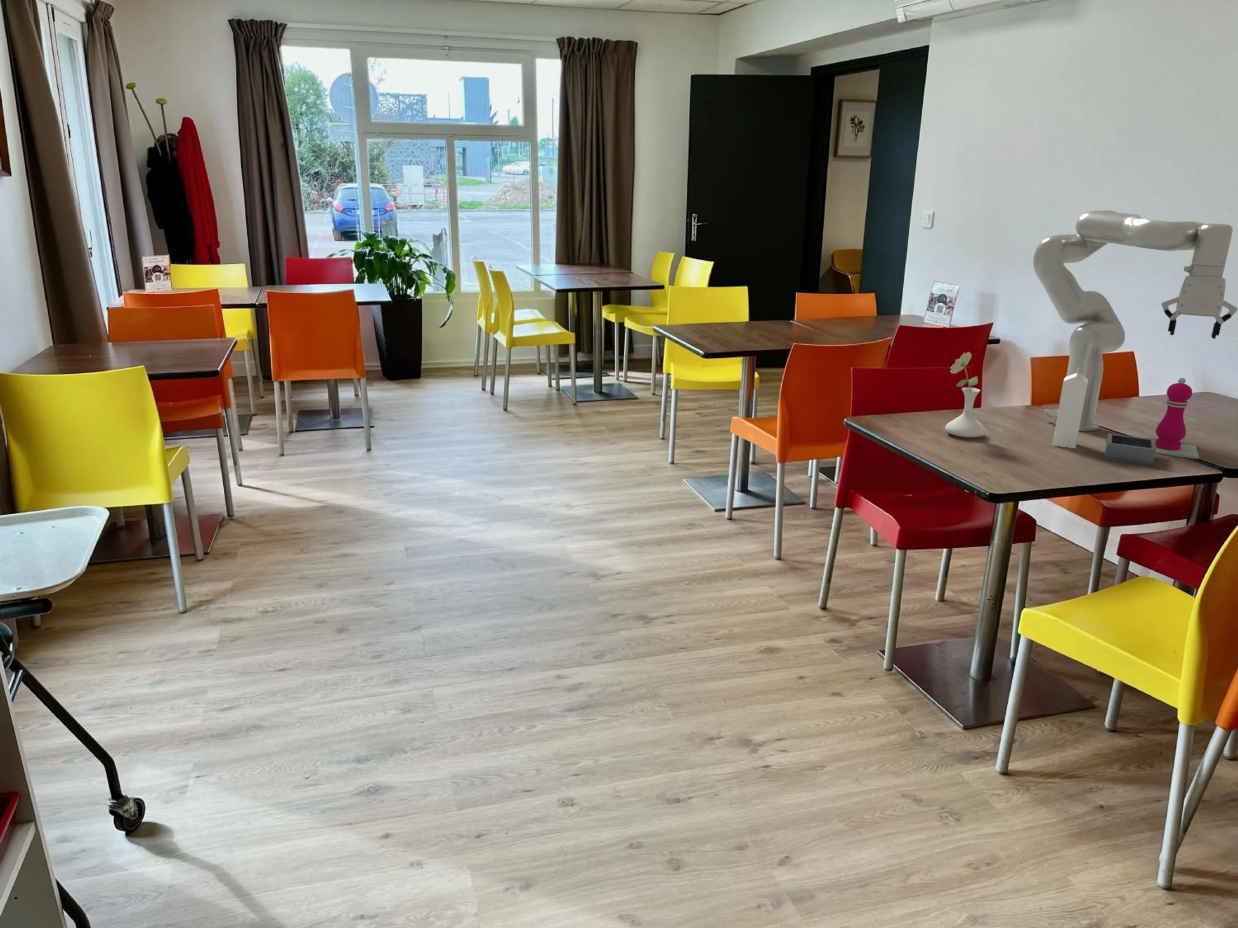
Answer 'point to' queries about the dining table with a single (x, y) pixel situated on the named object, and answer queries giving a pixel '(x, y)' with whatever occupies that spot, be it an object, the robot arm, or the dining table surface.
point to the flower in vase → (966, 405)
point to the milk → (1070, 411)
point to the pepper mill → (1174, 417)
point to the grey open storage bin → (1130, 449)
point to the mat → (1180, 451)
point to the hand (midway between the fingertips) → (1192, 336)
